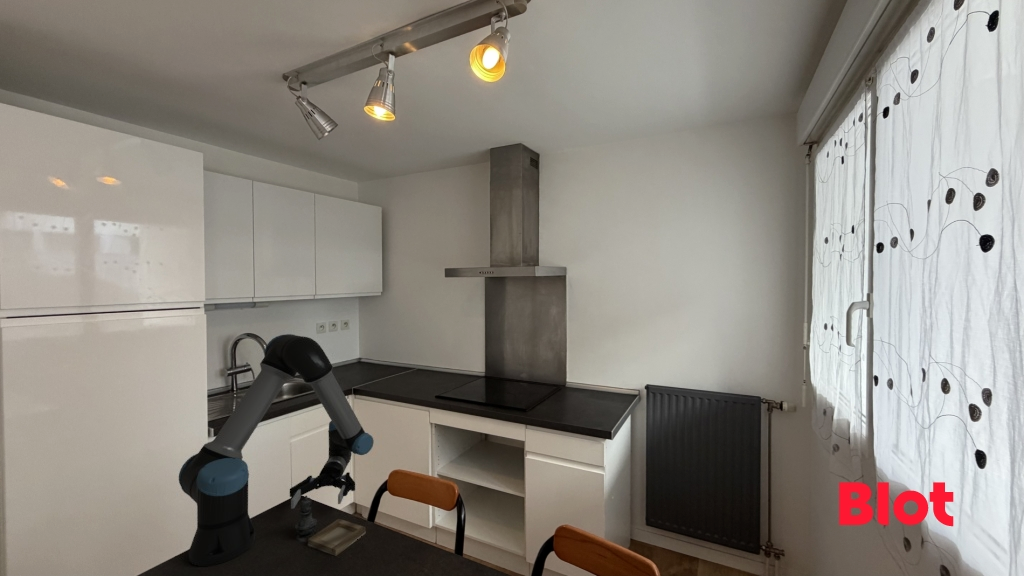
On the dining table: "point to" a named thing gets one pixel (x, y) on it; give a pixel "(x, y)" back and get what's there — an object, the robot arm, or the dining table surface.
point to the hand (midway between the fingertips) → (316, 502)
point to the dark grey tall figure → (305, 521)
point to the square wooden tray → (336, 537)
